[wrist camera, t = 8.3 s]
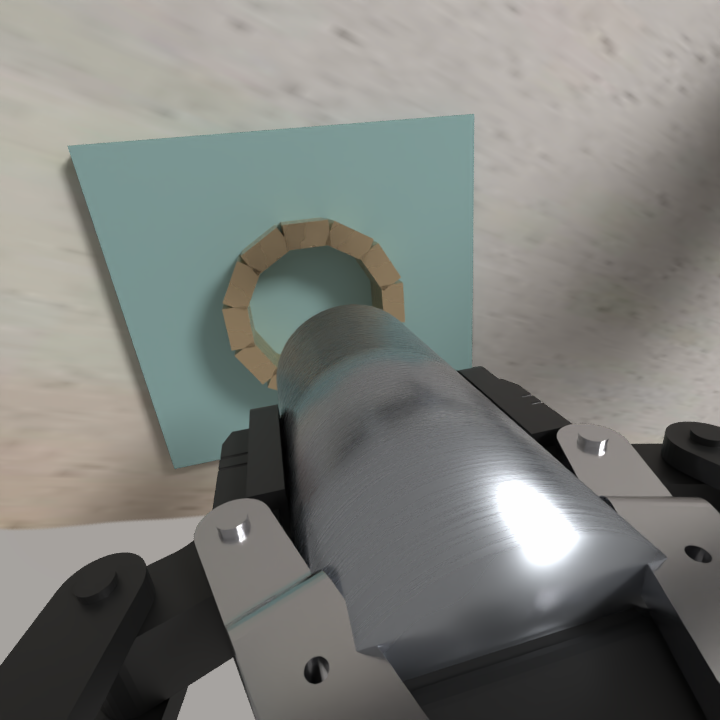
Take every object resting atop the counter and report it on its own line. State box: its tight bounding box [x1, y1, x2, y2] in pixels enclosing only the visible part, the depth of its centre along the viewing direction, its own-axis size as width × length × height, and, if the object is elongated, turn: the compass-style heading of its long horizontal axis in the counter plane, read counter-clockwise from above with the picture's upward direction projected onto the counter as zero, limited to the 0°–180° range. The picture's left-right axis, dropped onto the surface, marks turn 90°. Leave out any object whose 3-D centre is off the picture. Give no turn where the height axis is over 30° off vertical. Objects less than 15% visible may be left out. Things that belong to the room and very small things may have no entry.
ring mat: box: [68, 114, 474, 469], centre depth 24 cm, size 20×18×1 cm
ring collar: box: [222, 217, 405, 390], centre depth 23 cm, size 9×9×2 cm
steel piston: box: [276, 304, 668, 681], centre depth 10 cm, size 5×5×10 cm
